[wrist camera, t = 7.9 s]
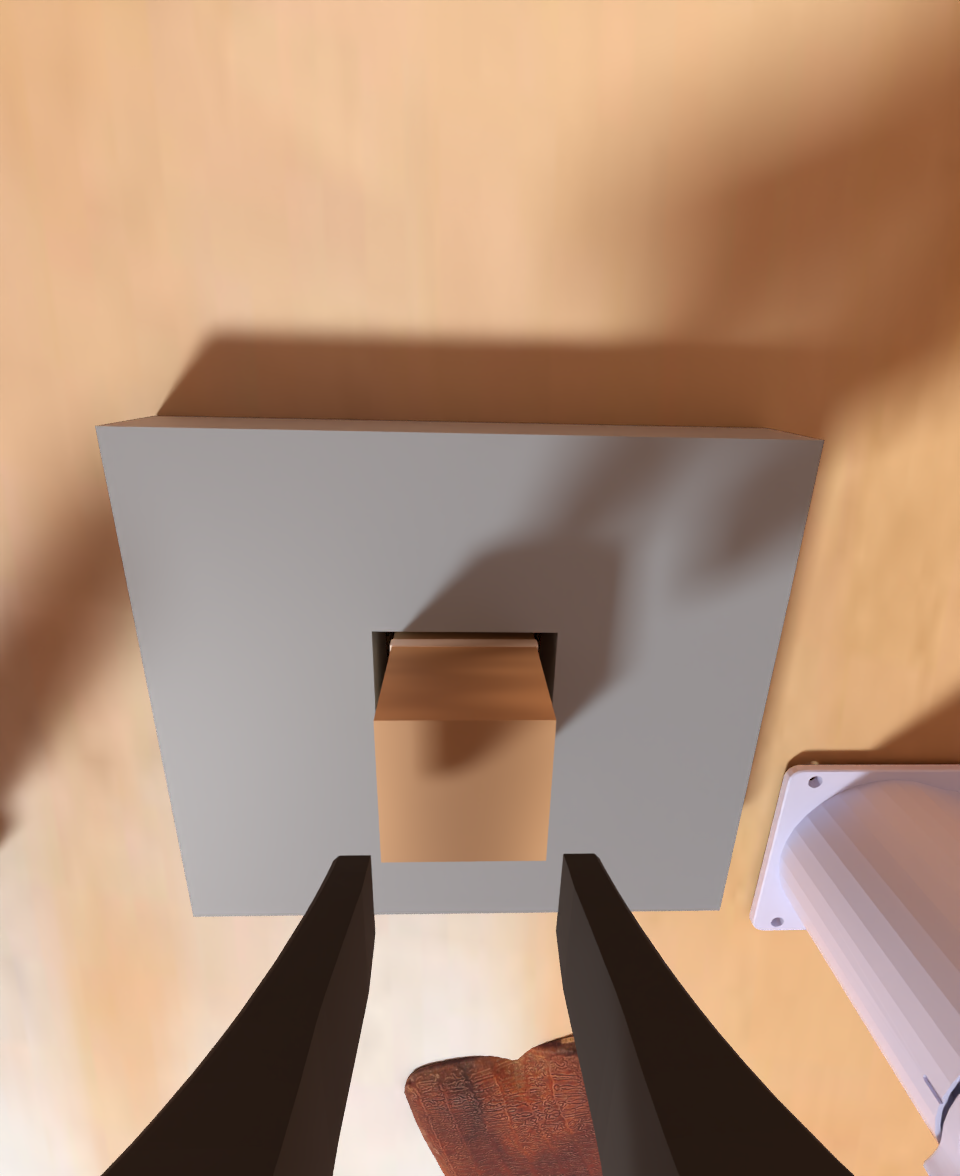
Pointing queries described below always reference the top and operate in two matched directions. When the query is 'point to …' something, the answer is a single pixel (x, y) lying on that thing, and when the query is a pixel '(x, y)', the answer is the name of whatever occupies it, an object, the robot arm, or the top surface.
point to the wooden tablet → (507, 1114)
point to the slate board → (454, 604)
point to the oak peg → (464, 748)
